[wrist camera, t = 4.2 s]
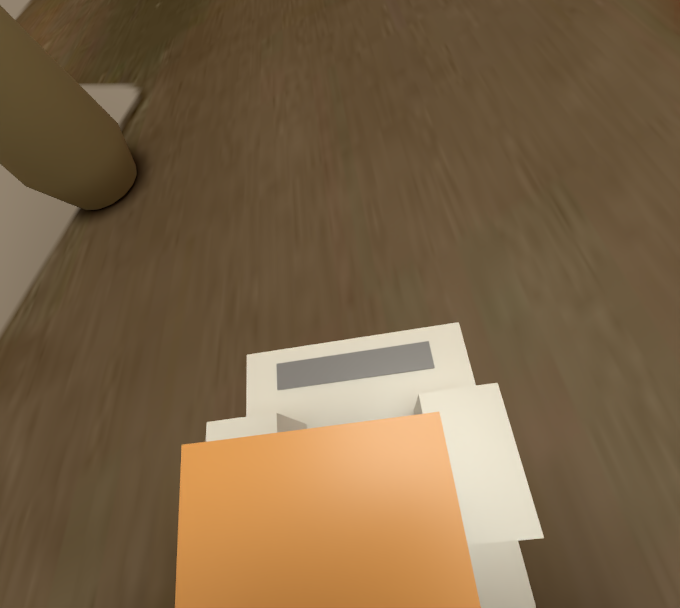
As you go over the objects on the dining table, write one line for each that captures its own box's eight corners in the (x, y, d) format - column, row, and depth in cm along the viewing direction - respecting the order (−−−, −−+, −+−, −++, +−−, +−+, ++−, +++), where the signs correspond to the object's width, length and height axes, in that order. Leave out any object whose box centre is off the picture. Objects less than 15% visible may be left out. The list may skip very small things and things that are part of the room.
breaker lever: (426, 502, 13) (488, 645, 4) (314, 514, 13) (172, 666, 5) (411, 422, 14) (439, 411, 5) (308, 435, 14) (182, 444, 6)
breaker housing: (509, 597, 15) (616, 731, 7) (280, 614, 16) (177, 748, 8) (447, 348, 19) (476, 280, 12) (274, 373, 20) (204, 326, 13)
